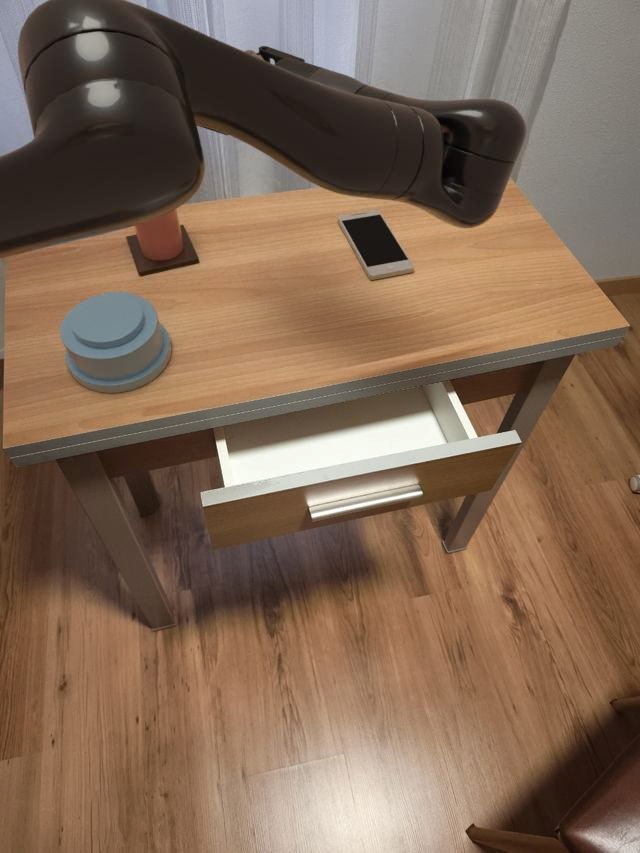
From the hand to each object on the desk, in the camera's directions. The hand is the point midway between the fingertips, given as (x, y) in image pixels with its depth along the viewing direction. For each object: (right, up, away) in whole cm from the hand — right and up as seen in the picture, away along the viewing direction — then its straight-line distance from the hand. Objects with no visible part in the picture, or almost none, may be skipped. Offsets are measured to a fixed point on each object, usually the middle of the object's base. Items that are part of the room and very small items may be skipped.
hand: (190, 69), depth 60 cm
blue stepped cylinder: (-12, -29, +13) cm, 34 cm away
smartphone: (+22, -10, +28) cm, 37 cm away
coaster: (-10, -11, +26) cm, 30 cm away
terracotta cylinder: (-10, -11, +25) cm, 29 cm away
